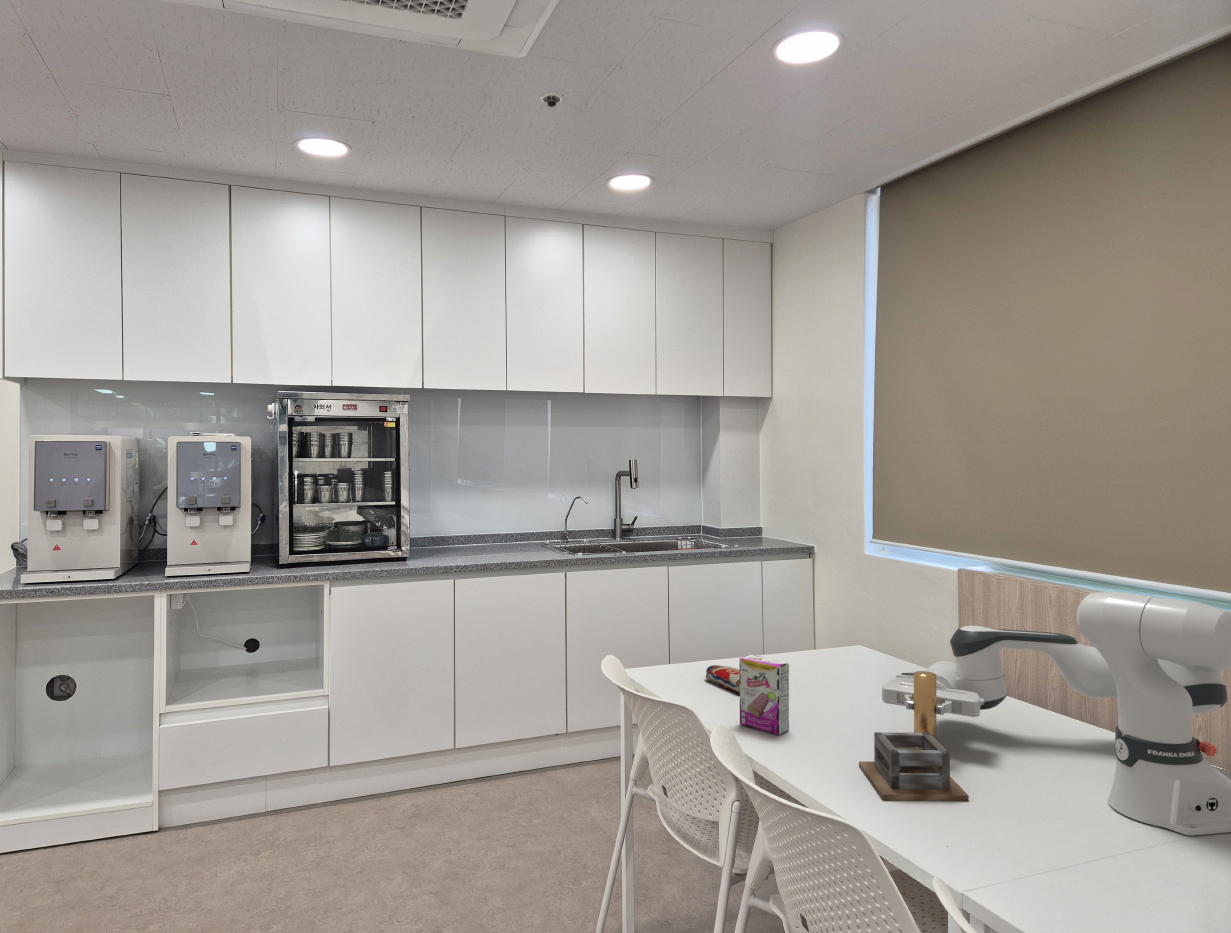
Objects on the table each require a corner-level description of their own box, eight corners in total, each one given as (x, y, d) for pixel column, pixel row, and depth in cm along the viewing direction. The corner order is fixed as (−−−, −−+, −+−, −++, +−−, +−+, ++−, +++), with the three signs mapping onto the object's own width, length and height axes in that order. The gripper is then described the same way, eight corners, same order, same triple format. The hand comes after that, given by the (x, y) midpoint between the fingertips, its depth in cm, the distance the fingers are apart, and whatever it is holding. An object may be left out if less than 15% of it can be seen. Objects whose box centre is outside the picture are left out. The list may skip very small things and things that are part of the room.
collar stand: (936, 766, 160) (936, 728, 160) (968, 800, 144) (968, 758, 144) (858, 766, 161) (858, 728, 161) (882, 800, 145) (882, 757, 145)
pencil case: (726, 699, 207) (726, 681, 207) (701, 679, 226) (701, 662, 226) (764, 696, 210) (764, 678, 209) (737, 676, 229) (736, 659, 229)
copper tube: (932, 753, 168) (931, 671, 167) (939, 761, 163) (939, 677, 163) (911, 753, 168) (910, 671, 168) (918, 761, 163) (918, 676, 163)
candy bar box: (738, 725, 186) (738, 657, 186) (750, 720, 190) (749, 653, 190) (779, 736, 179) (778, 666, 178) (790, 730, 182) (789, 661, 182)
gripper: (986, 713, 171) (977, 732, 159) (890, 698, 182) (876, 715, 170) (986, 684, 171) (977, 701, 159) (890, 671, 182) (876, 686, 170)
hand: (924, 708), depth 165 cm, fingers open, 5 cm apart
